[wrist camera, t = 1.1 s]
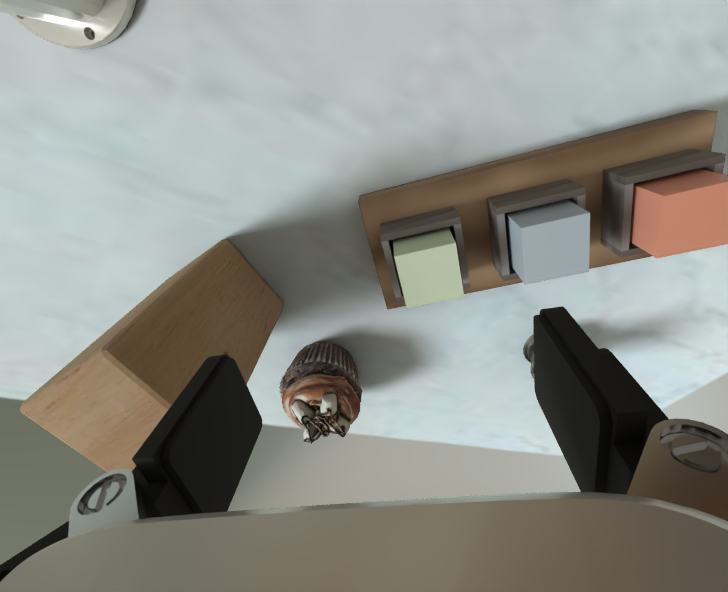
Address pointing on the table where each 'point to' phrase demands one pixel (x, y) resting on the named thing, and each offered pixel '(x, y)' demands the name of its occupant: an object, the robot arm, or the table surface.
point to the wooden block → (157, 357)
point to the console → (537, 197)
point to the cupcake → (321, 390)
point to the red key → (680, 213)
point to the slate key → (549, 241)
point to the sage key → (428, 267)
